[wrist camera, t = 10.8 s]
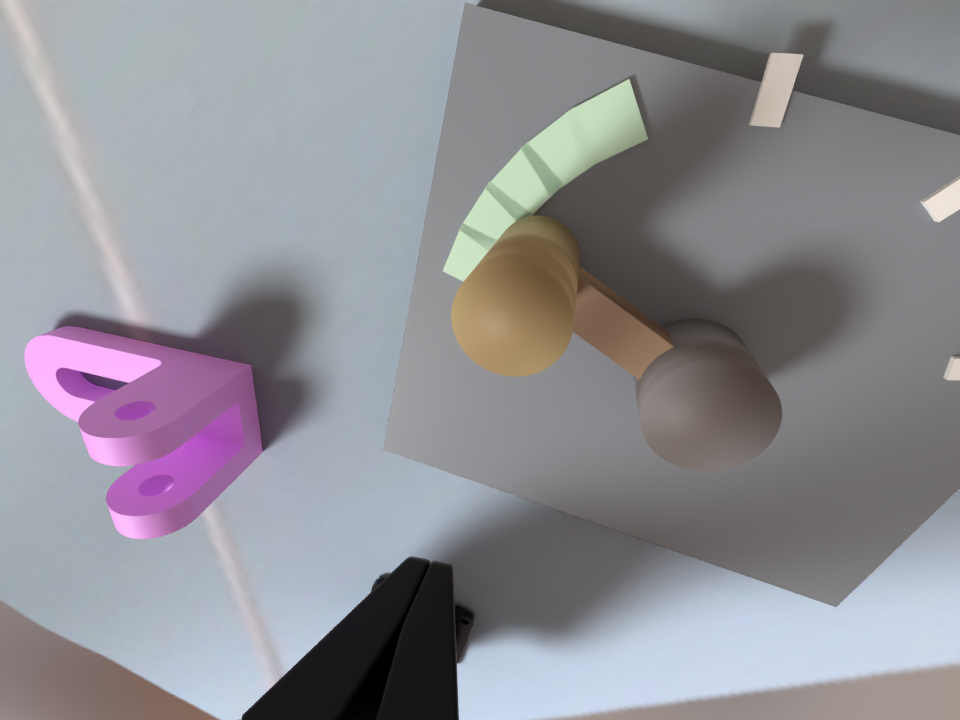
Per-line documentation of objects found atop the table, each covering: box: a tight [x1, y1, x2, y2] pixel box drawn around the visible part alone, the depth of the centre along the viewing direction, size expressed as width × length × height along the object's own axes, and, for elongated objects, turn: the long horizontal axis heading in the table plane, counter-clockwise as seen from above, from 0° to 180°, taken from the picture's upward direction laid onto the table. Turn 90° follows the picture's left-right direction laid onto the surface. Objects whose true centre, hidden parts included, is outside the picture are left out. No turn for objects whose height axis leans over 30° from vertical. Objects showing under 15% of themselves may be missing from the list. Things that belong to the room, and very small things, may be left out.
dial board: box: [383, 3, 960, 607], centre depth 18 cm, size 19×22×1 cm
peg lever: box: [451, 215, 782, 471], centre depth 14 cm, size 10×4×6 cm, turn 56°
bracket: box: [24, 326, 263, 539], centre depth 23 cm, size 13×6×7 cm, turn 83°
